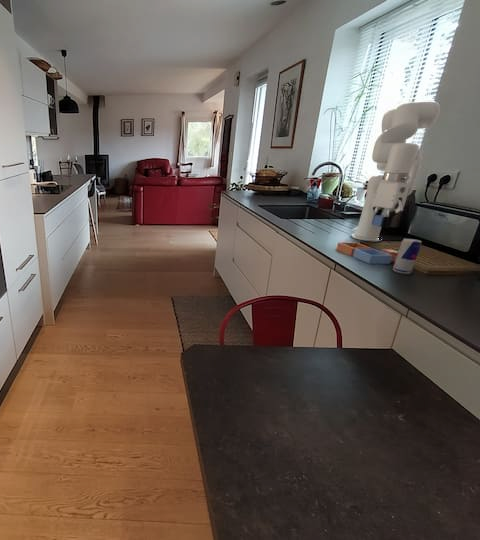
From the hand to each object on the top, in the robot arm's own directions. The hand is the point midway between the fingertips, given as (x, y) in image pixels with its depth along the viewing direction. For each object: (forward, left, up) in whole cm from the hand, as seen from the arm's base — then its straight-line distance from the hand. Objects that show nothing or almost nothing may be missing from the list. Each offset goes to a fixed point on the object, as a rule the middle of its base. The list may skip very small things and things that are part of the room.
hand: (380, 225), depth 129 cm
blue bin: (+2, -1, -14) cm, 14 cm away
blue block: (0, 0, 0) cm, 0 cm away
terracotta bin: (-8, -1, -14) cm, 16 cm away
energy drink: (+15, -1, -14) cm, 21 cm away
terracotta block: (+2, +6, -14) cm, 15 cm away
